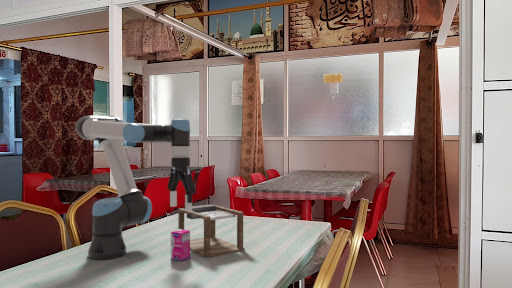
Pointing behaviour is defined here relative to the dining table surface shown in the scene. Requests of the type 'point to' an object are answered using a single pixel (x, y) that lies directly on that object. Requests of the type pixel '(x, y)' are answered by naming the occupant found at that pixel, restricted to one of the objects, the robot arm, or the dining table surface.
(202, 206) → the trapdoor
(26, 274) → the dining table surface
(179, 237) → the supplement box
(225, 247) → the frame
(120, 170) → the robot arm
